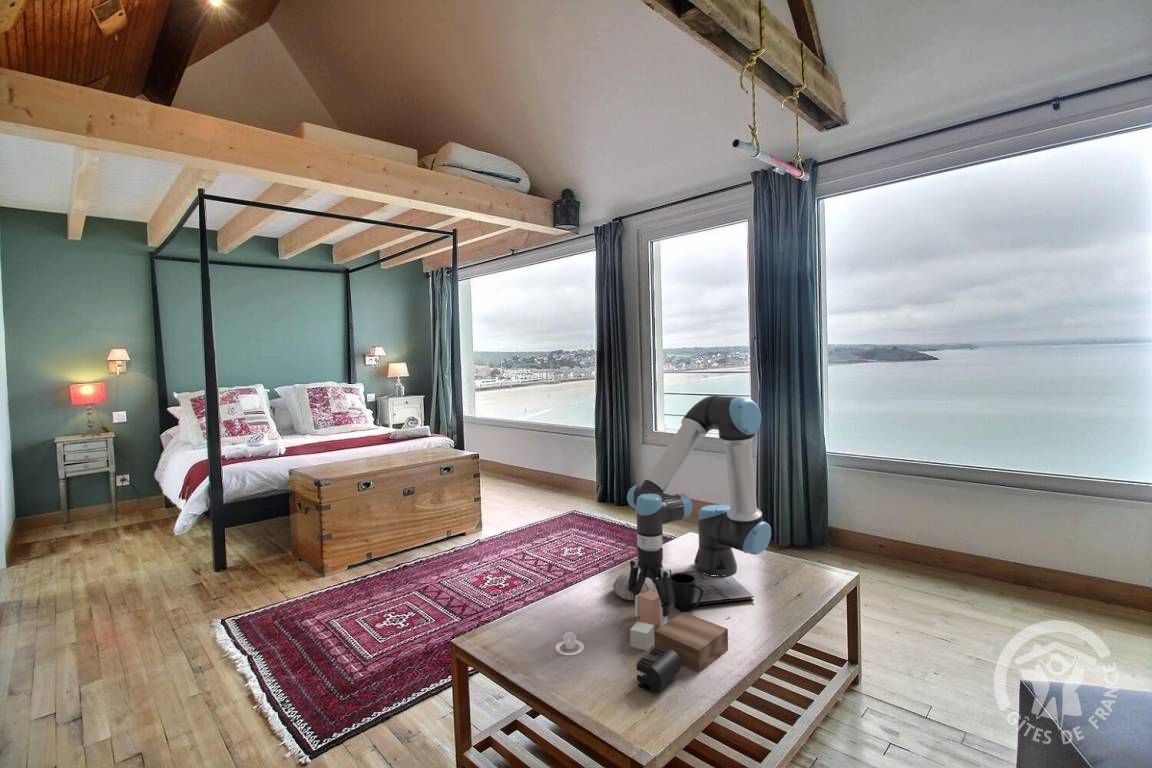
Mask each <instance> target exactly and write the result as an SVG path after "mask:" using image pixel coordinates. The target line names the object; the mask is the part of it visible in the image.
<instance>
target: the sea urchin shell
mask: <svg viewBox="0 0 1152 768" xmlns="http://www.w3.org/2000/svg"><path fill="white" fill-rule="evenodd" d="M630 570H631V569H628V570H625V571H624V572H622V573H621V574H619V576H617V578H615V580H614V583H613V585H612V587H613V591H614V592H615V594H616V595H617V596H618V597H619V598H621V599H623V600H627V601H634V600H633V593H632V592H631V591H628V583H629V577H630ZM640 571H641V570H639V569H638V575H639V573H640ZM638 577H639V576H637V580H638ZM654 588H655V586H654V583H653V582H652V580H651V579H650V578H646V579H645V582H644V584H643V586H642V589H641V592H639V594H640V593H642V594H643V593H645V592H647V591H649V590H651V591H654V590H655V589H654Z"/></svg>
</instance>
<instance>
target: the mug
mask: <svg viewBox="0 0 1152 768" xmlns="http://www.w3.org/2000/svg"><path fill="white" fill-rule="evenodd" d="M671 581H672V587H673V592H674V598H675V603H674V604H673V608H674V609H675V610H676V611H678V612H685V613H686V612H689V611H694V610H695V609H696V608H697V607H698V605H699V604H700V602H701V600H703V597H704V594H705V590H704V587H703V586H701V585H698V584H696V583H697V582H696V581H697V580H696V577H695V576H694V575H693V574H691V573H687V572H677V573H676V572H675V573H673V574H672V573H671ZM696 589H698V590H699V596H698V599H697V600H696V602H695V603H694V601H695V597H696V592H697V591H696Z"/></svg>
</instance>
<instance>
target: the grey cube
mask: <svg viewBox="0 0 1152 768" xmlns="http://www.w3.org/2000/svg"><path fill="white" fill-rule="evenodd" d="M654 631H655V626H654V625H651V624H647V623H643V622H640V620H638V621H636V622H635V623H634V624H633V625H632V627H630V628H629V634H630V635H629V636H630V637H629V639H630V644H629V645H630V647H632V648H635V649H639V650H643V651H646V652H648V651H649V650H650V648H651V647H652V646H653V645H654V644H655V641H654Z"/></svg>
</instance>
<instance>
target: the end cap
mask: <svg viewBox="0 0 1152 768" xmlns="http://www.w3.org/2000/svg"><path fill="white" fill-rule="evenodd" d="M649 654H650V655H652V656H655V657H656V658H655V659H649V658H647V657H642V658H641V659H640V660H638V661H637V663H636V671H638V672H640V673H643V675H640V674H637V675H636V681H637V682H638V684H637V687H638V688H639V689H641V688H642V689H641V690H644V691H646V692H648V693H650V694H656V693H657V692H660V691H661V690H662V689H663V687H665V686H666V685H667V684H668V683H669V681H671V680H672V678H674V677H675V675H677V673H679V672H680V671H681V668H682V665H681V660H680V657H679V656H678V654H677V653H676V652H675V651H673V650H672V649H669V650H668V651H667V652H666V651H663V650H661V649H658V648H655V647H654V648H653V649H651V650H650V651H649Z"/></svg>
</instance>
